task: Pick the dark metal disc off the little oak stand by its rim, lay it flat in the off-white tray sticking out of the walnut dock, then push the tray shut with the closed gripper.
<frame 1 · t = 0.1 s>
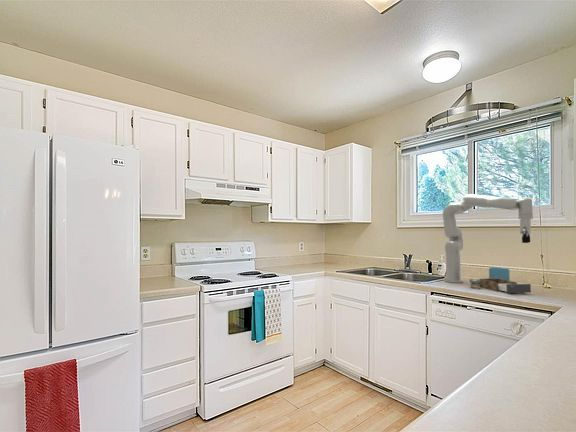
hand: (526, 242, 205), 31 cm above the worktop, tool pointing down, fingers open, 9 cm apart
stand: (475, 287, 210), on the worktop
tray: (508, 286, 198), point 3 cm above the worktop, slide at 8.0 cm
data package: (499, 284, 224), on the worktop
disc: (475, 282, 210), point 3 cm above the worktop, touching stand
dock: (498, 288, 207), on the worktop
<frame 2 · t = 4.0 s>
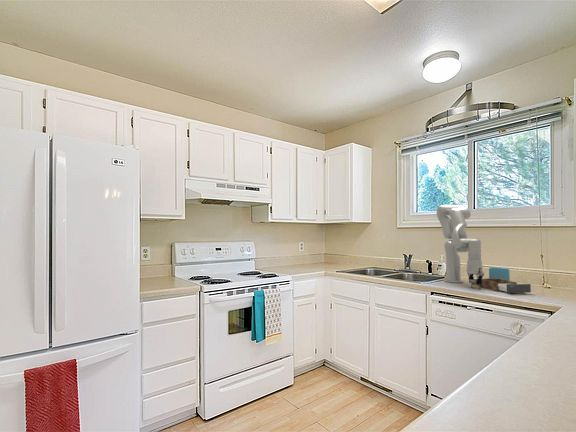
hand: (475, 283, 210), 3 cm above the worktop, tool pointing down, fingers closed on disc, 6 cm apart
disc: (475, 282, 210), point 3 cm above the worktop, touching gripper, stand
everything else where it was.
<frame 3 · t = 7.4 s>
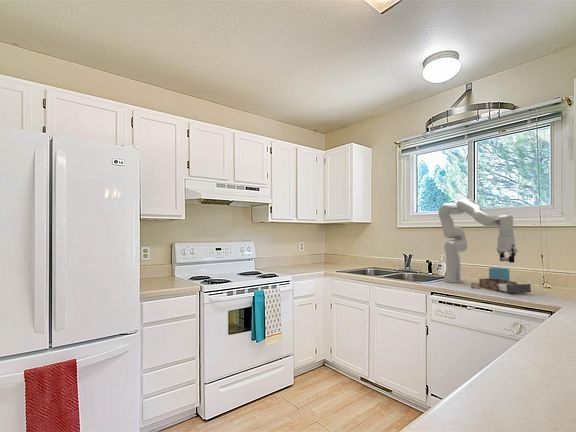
hand: (507, 261, 200), 19 cm above the worktop, tool pointing down, fingers closed on disc, 6 cm apart
disc: (506, 260, 200), point 20 cm above the worktop, touching gripper
everything else where it was.
when the fingers open (3 cm above the worktop, at t = 10.8 s): disc drops 2 cm, resting on tray.
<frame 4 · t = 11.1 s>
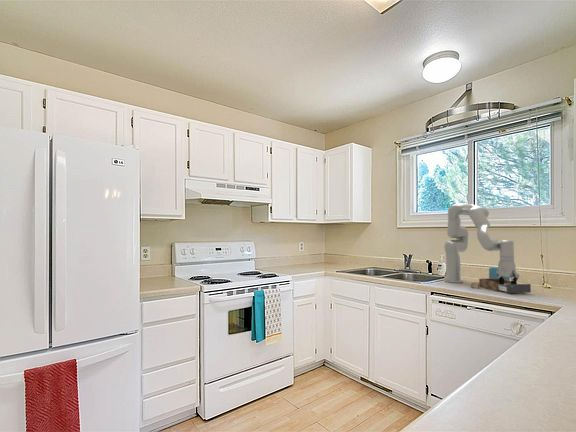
hand: (507, 285, 199), 3 cm above the worktop, tool pointing down, fingers open, 9 cm apart
tray: (508, 286, 198), point 4 cm above the worktop, slide at 8.0 cm, touching disc
disc: (507, 288, 199), point 2 cm above the worktop, touching tray
everything else where it was.
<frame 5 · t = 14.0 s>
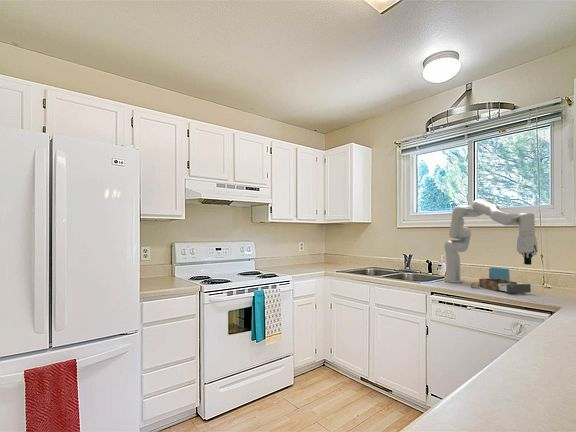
hand: (527, 264, 184), 19 cm above the worktop, tool pointing down, fingers closed
nothing on the worktop moved.
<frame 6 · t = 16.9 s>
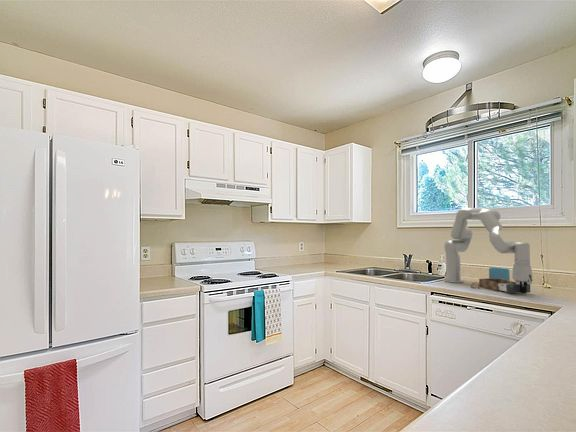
hand: (523, 292, 187), 1 cm above the worktop, tool pointing down, fingers closed
tray: (508, 286, 198), point 4 cm above the worktop, slide at 7.8 cm, touching disc, gripper
everything else where it was.
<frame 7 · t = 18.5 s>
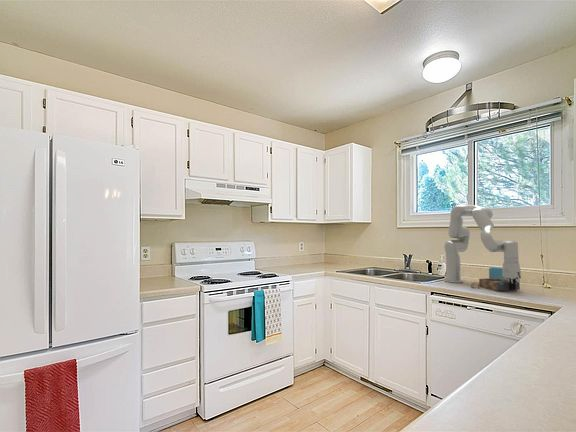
hand: (512, 289, 195), 2 cm above the worktop, tool pointing down, fingers closed
tray: (499, 283, 206), point 4 cm above the worktop, slide at -0.1 cm, touching disc, gripper
disc: (497, 286, 207), point 2 cm above the worktop, touching tray
everything else where it was.
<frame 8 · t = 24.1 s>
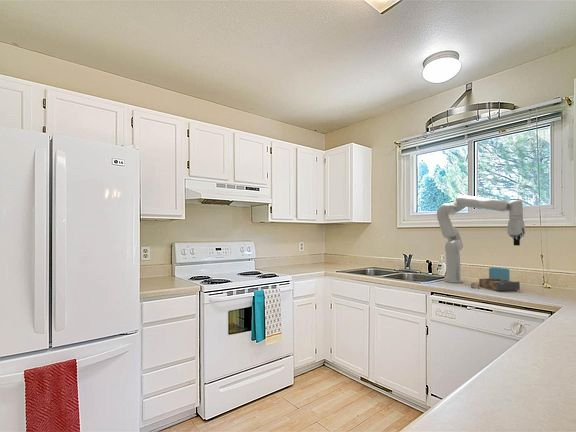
hand: (516, 245, 209), 29 cm above the worktop, tool pointing down, fingers closed
tray: (499, 283, 206), point 3 cm above the worktop, slide at 0.0 cm, touching disc
everything else where it was.
at the end: tray slide at 0.0 cm; disc inside the target area on the dock (0.1 cm from its centre), point 1.6 cm above the dock's base; disc tilted 0° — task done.
